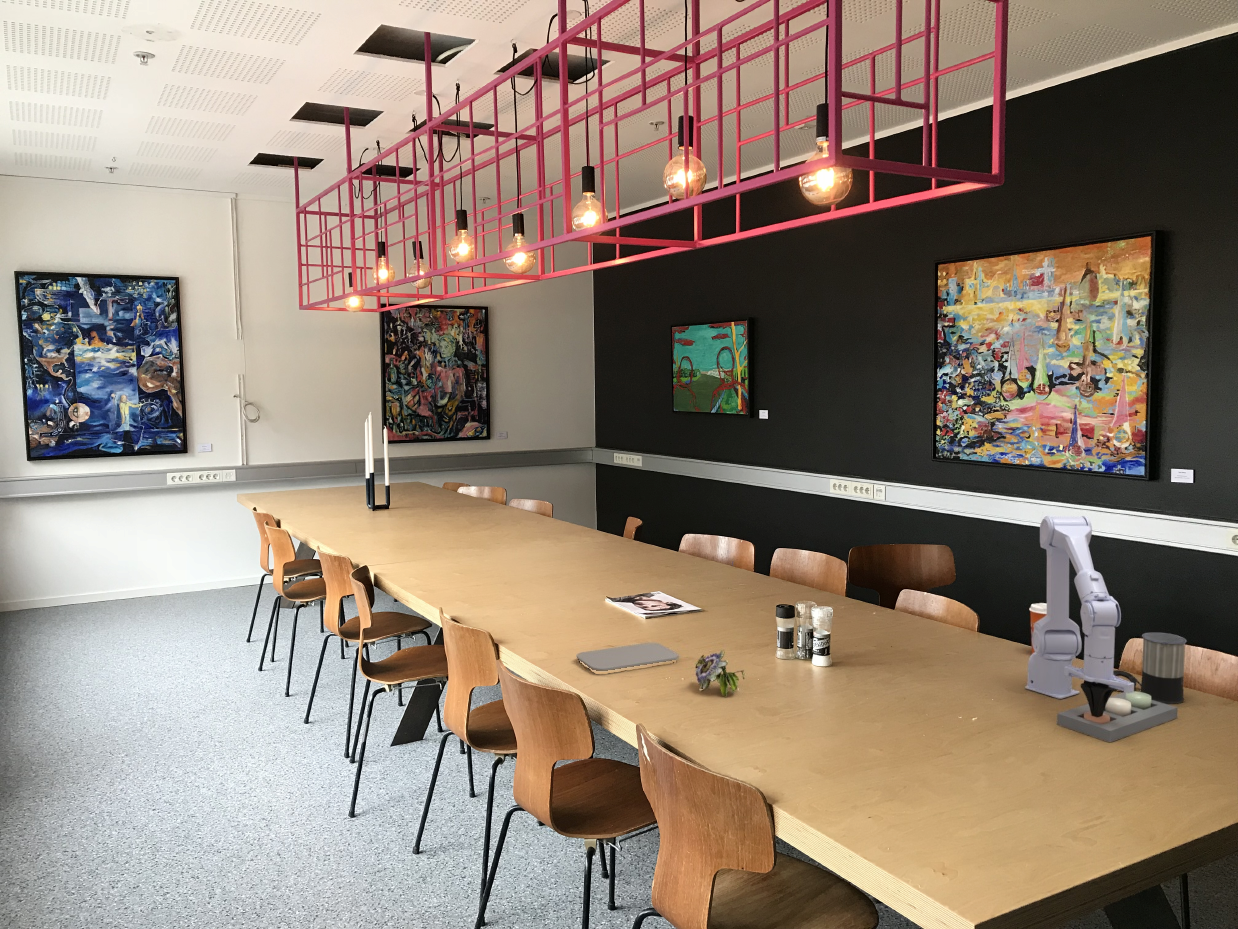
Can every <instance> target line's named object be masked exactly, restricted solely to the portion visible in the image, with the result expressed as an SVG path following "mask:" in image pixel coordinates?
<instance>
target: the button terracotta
mask: <svg viewBox="0 0 1238 929" xmlns="http://www.w3.org/2000/svg"><path fill="white" fill-rule="evenodd" d="M1084 719H1087V720H1090V721H1093V722H1096V723H1099V724H1104V723H1107V722H1110V716H1108V715H1107V714H1104V713H1103V716H1100V717H1094V716H1091V711H1090V712H1085V713H1084Z"/></svg>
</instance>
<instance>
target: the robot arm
mask: <svg viewBox="0 0 1238 929" xmlns="http://www.w3.org/2000/svg"><path fill="white" fill-rule="evenodd" d="M1092 533H1093V526H1092V523H1091V520H1090V519H1089V518H1088V517H1087V516H1085V515H1082V516H1049V515H1047V516H1044V517H1043V519H1042V520H1041V522H1040V524H1039V544H1040V548H1042V549H1044V550H1046V604H1047V615H1046V616H1045V617H1043V618H1042V619H1040V620H1039V621H1037V622H1036V623H1035V625H1034V632H1033V635H1032V642H1031V646H1032V645H1033V649H1034V651H1035V652H1034V653H1033V654H1032V653H1031V655H1030V656H1029V658H1028V661H1027V684H1026V685H1025V686H1024V687H1025V689H1026V690H1029V691H1030V690H1031V691H1033V692H1036V693H1039V694H1043V695H1045V696H1050V697H1053V698H1055V699H1059V700H1061V699H1065V698H1068V697H1072V696H1075V695H1079V694H1080V691H1079V690H1076V689H1073V686H1072V685H1073V678H1076V679H1079V680H1083V681H1082V683H1080V688H1081V689H1082V692H1083V694H1084V695H1085V698H1086V700H1087V704H1089V707H1090V711H1091V716H1094V717H1100V716H1103V712H1104V709H1105V706H1106V704H1107V701H1108V699H1109V698H1110V697H1111V696H1112V694H1113V693H1114V692H1115V691H1116V690H1115V689H1118V690H1117V691H1119V690H1122V691H1121V692H1125V693H1128V694H1129V693H1132V692H1134V691H1135V688H1134V683H1132V682H1131V681H1130V680H1126V679H1123V678H1121V677H1120V676H1114V675H1113V671H1114V666H1115V638H1116V628H1117V627H1119V626H1120V624H1121V621H1122V619H1121V618H1122V613H1121V607H1120V605H1119V602H1118V601H1117V600H1116V599H1115V598H1114V597H1113V596H1111V595H1110V594H1109V592H1108V589H1107V586H1106V583H1105V580H1104V577H1103V575H1102V574H1101V572H1098V571H1096V570H1095V569H1094V564H1093V560H1092V556H1091V552H1090V547H1089V545H1090V542H1091V539H1092V535H1093V534H1092ZM1070 561H1071V564H1072V566H1073V568H1074V570H1075V573H1076V575H1075V577H1074V580H1073V582H1074V586H1075V588H1076V590H1077V594H1078V598H1079V600H1080V603H1081V608H1080V619H1081V623H1082V628H1081V629H1082V633H1084V652H1083V667H1078V666H1073V661H1074V660H1076V656H1078V655H1079V654H1080V653H1081V652H1082V648H1083V647H1082V645H1083V644H1082V638H1081V632H1080V630H1081V629H1080V626H1079V625H1078V624H1077V623H1076V622H1075V621H1074V620H1072V619H1071V618H1069V617H1070ZM1050 629H1055V630H1050Z"/></svg>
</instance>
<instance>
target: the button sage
mask: <svg viewBox="0 0 1238 929" xmlns="http://www.w3.org/2000/svg"><path fill="white" fill-rule="evenodd" d="M1126 700H1127V701H1129V702H1131V706H1132V707H1136V708H1139V709H1142V710H1145V709H1148V708H1151V696H1150V695H1149V694H1146V693H1142V692H1140V691H1136V690H1134V692H1132V693H1129V694H1128V693H1126Z"/></svg>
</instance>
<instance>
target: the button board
mask: <svg viewBox="0 0 1238 929" xmlns="http://www.w3.org/2000/svg"><path fill="white" fill-rule="evenodd" d="M1110 698H1120V699H1124V700H1126V693H1125V692H1124V691H1122V692H1120V693H1118V694H1114V695H1111V696H1110ZM1178 708H1179V707H1178V706H1173V705H1171V704H1168V703H1161V702H1157V701H1154V700H1151V708H1148V709H1145V710H1142V709H1139V708H1136V707H1132V706H1131V715H1128V716H1125V717H1122V716H1119V715H1115V714H1112V713H1109V712H1106V711H1105V709H1104V712H1103V713H1104V714H1107V715H1108V716H1110V722H1107V723H1104V724H1099V723H1096V722H1093V721H1090V720H1087V719H1084V713H1085V712H1090V707H1089V704H1088V703H1086V704H1083V705H1080V706H1077V707H1073V708H1071V709H1067V710H1063V711H1060V712H1057V713H1056V725H1058V726H1061V727H1063V728H1065V729H1069V730H1072V731H1075V732H1079V733H1081V734H1085V735H1087V736H1089V737H1092V738H1095V739H1098V740H1101V741H1105V742H1107V743H1113V742H1115V741H1118V740H1121V739H1124V738H1126V737H1129V736H1132V735H1135V734H1137V733H1140V732H1143V731H1146V730H1148V729H1152V728H1155V727H1156V726H1160V725H1162V724H1165V723H1167V722H1168V723H1169V722H1171V721H1174V720H1176V719H1178V712H1179V711H1178Z"/></svg>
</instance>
